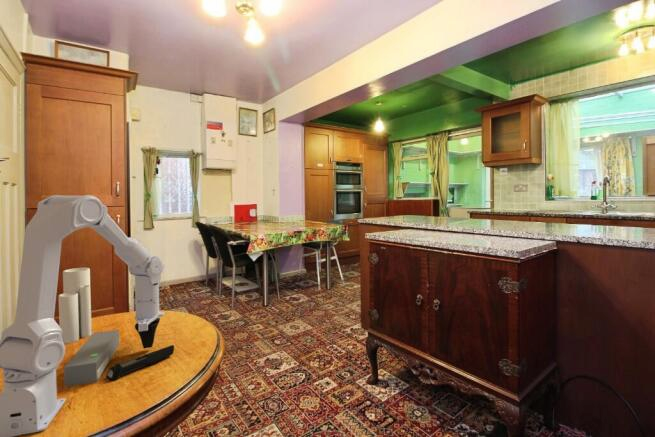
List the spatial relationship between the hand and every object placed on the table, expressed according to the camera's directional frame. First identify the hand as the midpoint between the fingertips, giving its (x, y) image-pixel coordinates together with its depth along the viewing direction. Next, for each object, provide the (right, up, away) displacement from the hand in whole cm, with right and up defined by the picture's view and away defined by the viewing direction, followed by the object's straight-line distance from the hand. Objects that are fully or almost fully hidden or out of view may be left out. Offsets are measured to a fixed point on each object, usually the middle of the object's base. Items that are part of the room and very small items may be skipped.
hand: (148, 346), depth 88 cm
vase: (-27, -1, +9) cm, 29 cm away
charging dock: (-9, -1, -7) cm, 12 cm away
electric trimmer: (+3, -2, -8) cm, 9 cm away
